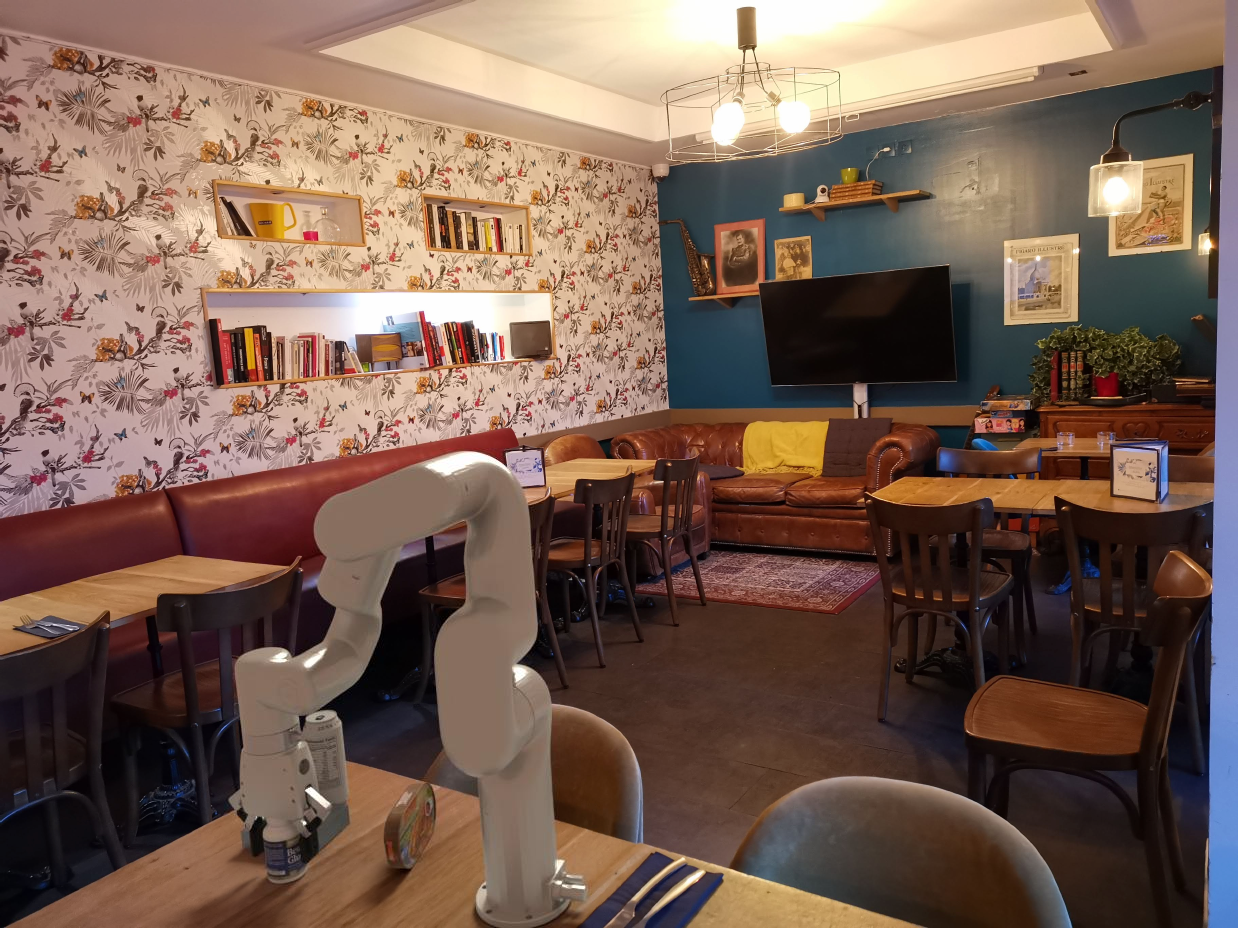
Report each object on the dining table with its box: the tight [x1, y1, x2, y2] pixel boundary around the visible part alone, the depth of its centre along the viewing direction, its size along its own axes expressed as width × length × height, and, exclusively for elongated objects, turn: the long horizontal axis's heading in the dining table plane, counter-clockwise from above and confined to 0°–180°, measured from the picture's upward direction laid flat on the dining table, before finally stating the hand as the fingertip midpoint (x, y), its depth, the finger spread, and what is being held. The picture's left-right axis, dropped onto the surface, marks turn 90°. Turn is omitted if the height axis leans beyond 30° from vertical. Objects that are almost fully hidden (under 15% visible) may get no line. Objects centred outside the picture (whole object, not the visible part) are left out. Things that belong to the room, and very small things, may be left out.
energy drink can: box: [302, 709, 350, 805], centre depth 146 cm, size 6×6×15 cm
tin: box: [383, 781, 437, 870], centre depth 131 cm, size 15×3×8 cm, turn 173°
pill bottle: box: [263, 818, 308, 885], centre depth 127 cm, size 5×5×10 cm
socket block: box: [240, 803, 351, 854], centre depth 137 cm, size 12×10×3 cm
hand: (285, 854), depth 127 cm, fingers open, 7 cm apart
